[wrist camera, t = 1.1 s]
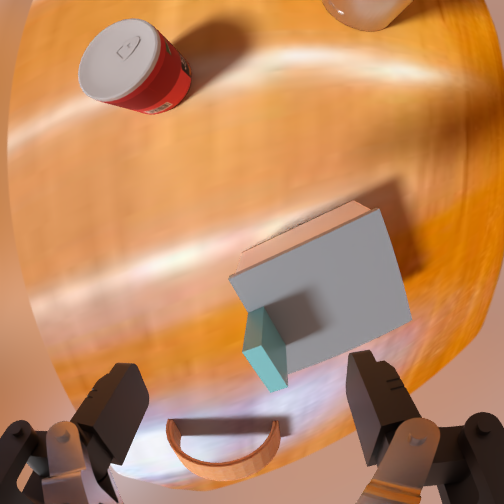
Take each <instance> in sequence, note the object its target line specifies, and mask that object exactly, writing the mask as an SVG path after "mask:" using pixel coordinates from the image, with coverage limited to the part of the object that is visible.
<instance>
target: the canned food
mask: <svg viewBox="0 0 504 504" xmlns="http://www.w3.org/2000/svg"><path fill="white" fill-rule="evenodd" d="M78 77H79V83H80V87H81V88H82V90H83V92H84V93H85V94H86V95H87V96H89V97H91V98H93V99H95V100H97V101H101V102H104V103H108V104H112V105H115V106H119V107H123V108H127V109H130V110H134V111H137V112H141V113H144V114H159V113H162V112H165V111H168V110H170V109H172V108H173V107H175V106H176V105H177V104H179V103H180V102H181V100H182V99H183V98H184V97H185V95H186V94H187V92H188V90H189V88H190V84H191V68H190V66H189V64H188V62H187V61H186V60H185V58H184V57H183V56H182V55H181V54H180V53H179V52H178V51H177V50H176V49H175V48H174V47H173V45H172V44H171V43H170V42H169V41H168V40H167V39H166V38H165V37H164V36H163V35H162V34H161V33H160V32H159V31H158V30H157V29H156V28H155V27H154V26H152V25H151V24H149V23H148V22H146V21H144V20H141V19H126V20H122V21H119V22H116V23H114V24H112V25H110V26H108V27H107V28H106V29H104V30H103V31H101V32H100V33H99V34H98V35H97V36H96V37H95V38H94V39H93V40H92V42H91V43H90V44H89V46H88V47H87V49H86V50H85V52H84V54H83V56H82V59H81V62H80V65H79V72H78Z"/></svg>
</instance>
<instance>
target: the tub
mask: <svg viewBox="0 0 504 504" xmlns="http://www.w3.org/2000/svg"><path fill="white" fill-rule="evenodd" d="M369 210H371V209H369V208H367V207H365V206H363V205H361V204H360V203H358V202H356V201H354V200H353V201H351V202H348V203H346V204H344V205H342V206H340V207H338V208H336V209H334V210H331V211H329V212H327V213H325V214H323V215H321V216H319V217H317V218H314V219H312V220H310V221H308V222H306V223H304V224H302V225H300V226H297V227H295V228H293V229H291V230H289V231H287V232H285V233H283V234H280V235H278V236H276V237H274V238H272V239H270V240H268V241H266V242H264V243H261V244H259V245H257V246H255V247H253V248H251V249H249V250H247V251H245V252H242V253H241V256H240V260H239V263H238V266H237V269H236V273H237V272H239V271H241V270H243V269H245V268H248V267H250V266H252V265H254V264H256V263H258V262H261V261H263V260H265V259H267V258H269V257H271V256H274V255H276V254H278V253H280V252H282V251H284V250H287V249H289V248H291V247H293V246H295V245H297V244H299V243H302V242H304V241H306V240H308V239H310V238H312V237H314V236H317V235H319V234H321V233H323V232H325V231H327V230H329V229H331V228H334V227H336V226H338V225H340V224H342V223H344V222H346V221H348V220H351V219H353V218H355V217H357V216H359V215H361V214H363V213H365V212H367V211H369Z"/></svg>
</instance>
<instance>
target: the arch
mask: <svg viewBox="0 0 504 504" xmlns="http://www.w3.org/2000/svg"><path fill="white" fill-rule="evenodd" d="M166 434H167V439H168V441H169V443H170V445H171V447H172V449H173V450H174V452H175V453H176V455H177V456H178V458H179V459H180V461H181V462H182V463H183V465H184V466H185V467H186V468H187V469H189V470H190V471H191V472H193V473H194V474H196V475H198V476H200V477H203V478H206V479H210V480H215V481H231V480H238V479H242V478H245V477H248V476H250V475H252V474H255V473H257V472H258V471H260V470H261V469H263V468H264V467H265V466H266V465H267V464H268V463H269V462H270V461H271V460H272V459H273V457H274V456H275V455H276V453H277V450H278V448H279V445H280V440H281V437H280V430H279V423H278V421H273V422H272V428H271V432H270V434H269V436H268V438H267V439H266V440H265V442H264V443H263V444H262V445H261V446H260V447H259V448H258V449H257V450H255V451H254V452H252V453H251V454H249V455H247V456H245V457H243V458H240V459H238V460H234V461H230V462H223V463H210V462H204V461H200V460H197V459H194V458H192V457H190V456H188V455H187V454H185V453H184V452H183V451H182V450H181V447H180V440H181V433H180V432H179V430H178V428H177V426H176V424H175V422H173V420H169V419H168V421H167V424H166Z"/></svg>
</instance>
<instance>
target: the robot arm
mask: <svg viewBox="0 0 504 504" xmlns="http://www.w3.org/2000/svg"><path fill="white" fill-rule="evenodd" d="M412 1H413V0H322V2H323V4H324V6H325V8H326V9H327V10H328V11H329V13H330V14H331V15H332V16H334V17H335V18H336V19H337V20H339V21H340V22H342V23H344V24H345V25H347V26H350V27H352V28H355V29H359V30H363V31H377V30H382V29H383V28H385V27H387V26H388V25H389V24H390V23H391V22H392V21H393V20H394V19H395V18H396V17H397V16H399V14H400V13H401V12H402V11H403V10H404V9H405V8H406V7H407V6H408V5H409V4H410V3H411V2H412ZM346 395H347V400H348V403H349V406H350V409H351V413H352V416H353V419H354V423H355V426H356V429H357V433H358V436H359V440H360V443H361V446H362V450H363V453H364V457H365V461H366V464H367V466H372V465H376V464H377V467H378V469H377V471H376V473H375V474H374V476H373V478H372V480H371V482H370V483H369V484H368V485H367V486H366V488H365V490H364V491H363V493H362V494H361V496H360V498H359V499H358V501H357V503H356V504H419V503H420V501H421V496H420V493H421V490H422V488H423V486H432V485H437V487H438V490H439V493H440V497H441V500H442V504H504V428H503V426H502V424H501V422H500V421H499V420H498V418H497V417H496V416H494V415H493V414H490V413H486V412H480V413H476V414H474V415H472V416H471V417H470V418H469V419H468V420H467V421H466V423H465V425H463V426H455V427H437V425H436V424H435V423H434V422H432V421H431V420H428V419H425V418H422V417H421V415H420V414H419V412H418V410H417V408H416V406H415V404H414V402H413V401H412V399H411V397H410V395H409V393H408V391H407V389H406V388H405V387H404V384H403V382H402V380H401V379H400V377H399V375H398V373H397V372H396V370H395V368H394V367H393V366H391V365H390V364H388V363H387V362H386V361H379V362H376V360H375V358H374V356H373V354H372V352H371V351H370V350H365V351H359V352H353V353H349V356H348V366H347V377H346ZM148 405H149V394H148V391H147V388H146V386H145V384H144V381H143V379H142V376H141V374H140V371H139V369H138V367H137V365H136V364H132V363H116V364H115V365H114V367H113V368H112V370H111V371H110V373H109V374H106V375H105V376H103V377H102V378H101V379H99V380H98V381H97V382H96V384H95V385H94V387H93V388H92V391H90V392H89V394H88V395H87V398H85V400H84V401H83V403H82V404H81V406H80V407H79V409H78V410H77V412H76V413H75V414H74V416H73V417H72V419H71V420H70V422H68V421H62V422H58V423H56V424H54V425H53V426H52V427H51V428H50V429H49V430H48V431H34V429H33V428H32V427H31V425H30V424H29V423H28V422H27V421H24V420H19V421H16V422H13V423H12V424H11V425H10V426H9V427H8V428H7V429H6V431H5V432H4V434H3V435H2V436H1V438H0V504H124V503H123V501H122V499H121V496H120V494H119V491H118V489H117V486H116V484H115V481H114V478H113V476H112V473H111V471H110V469H109V466H110V463H113V464H117V465H121V466H122V464H123V462H124V460H125V457H126V455H127V453H128V450H129V448H130V446H131V443H132V441H133V439H134V437H135V434H136V432H137V430H138V428H139V425H140V423H141V421H142V419H143V416H144V414H145V412H146V410H147V407H148ZM26 463H27V464H28V465H29V466H30V467H31V468H32V469H33V472H32V474H31V476H30V478H29V480H28V482H27V484H26V485H25V487H24V489H23V491H22V492H20V491H19V489H18V488H17V483H16V482H17V479H18V477H19V475H20V473H21V471H22V469H23V468H24V466H25V464H26Z"/></svg>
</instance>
